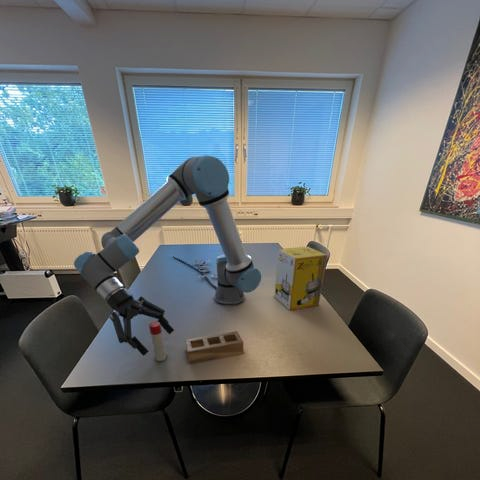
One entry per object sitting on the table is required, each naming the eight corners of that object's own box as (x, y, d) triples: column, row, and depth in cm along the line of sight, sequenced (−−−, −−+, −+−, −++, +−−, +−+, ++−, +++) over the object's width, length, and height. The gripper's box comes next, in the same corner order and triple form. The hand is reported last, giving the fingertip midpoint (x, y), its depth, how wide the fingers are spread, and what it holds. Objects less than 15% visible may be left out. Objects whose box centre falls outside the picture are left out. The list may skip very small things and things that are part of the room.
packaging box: (318, 305, 128) (327, 255, 115) (289, 310, 123) (295, 258, 110) (301, 292, 141) (307, 246, 128) (274, 296, 136) (278, 249, 123)
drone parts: (226, 261, 189) (226, 257, 187) (235, 279, 159) (235, 274, 158) (194, 262, 184) (194, 258, 183) (197, 280, 155) (197, 275, 153)
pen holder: (186, 350, 95) (185, 339, 93) (237, 341, 100) (237, 330, 98) (189, 363, 89) (187, 351, 86) (243, 353, 94) (243, 341, 91)
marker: (155, 356, 92) (149, 322, 85) (165, 354, 93) (159, 321, 86) (156, 362, 89) (149, 327, 82) (166, 360, 90) (160, 326, 83)
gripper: (86, 304, 73) (138, 359, 75) (146, 275, 93) (186, 320, 95) (78, 317, 77) (128, 368, 80) (137, 287, 97) (175, 329, 100)
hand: (159, 342), depth 87 cm, fingers open, 13 cm apart
